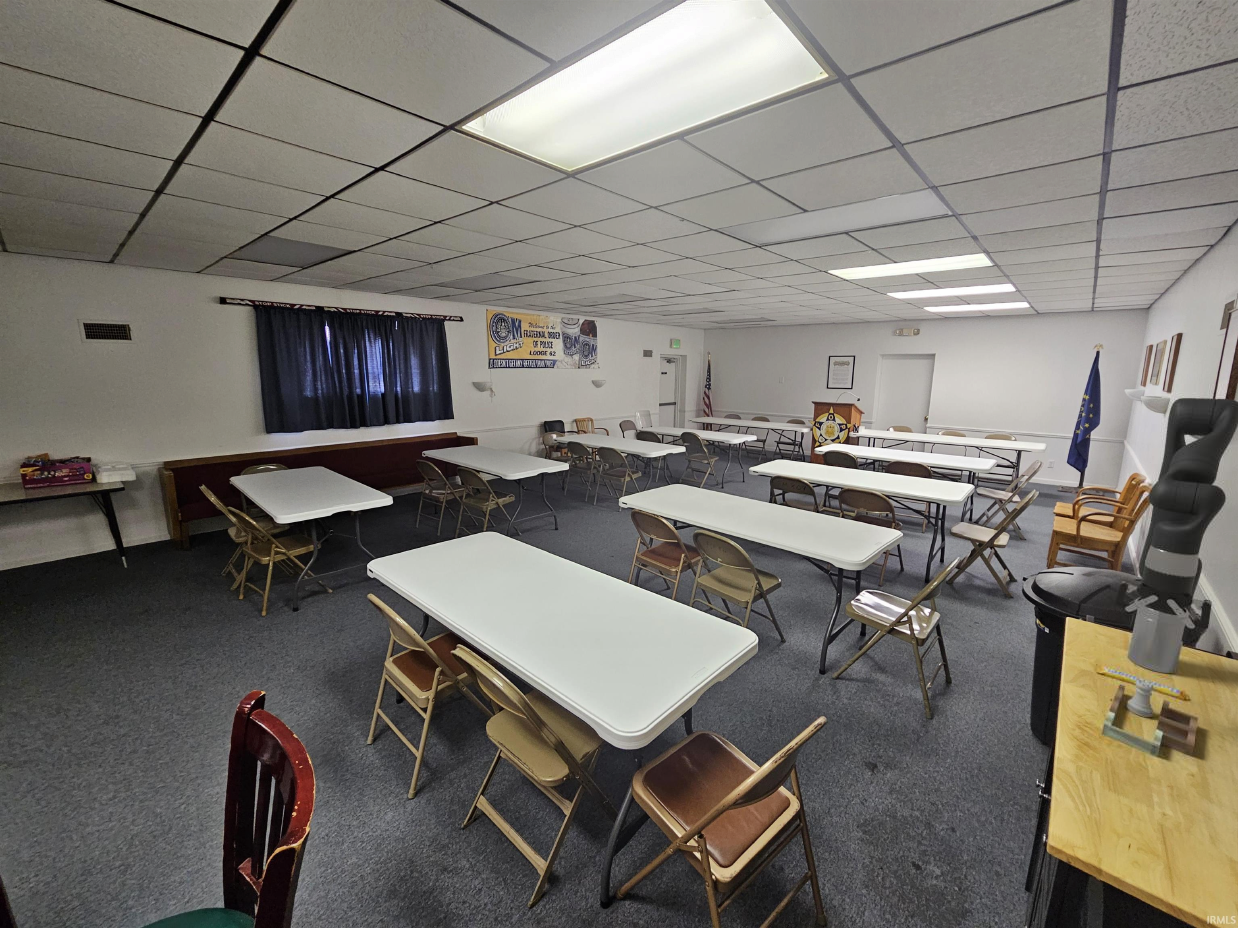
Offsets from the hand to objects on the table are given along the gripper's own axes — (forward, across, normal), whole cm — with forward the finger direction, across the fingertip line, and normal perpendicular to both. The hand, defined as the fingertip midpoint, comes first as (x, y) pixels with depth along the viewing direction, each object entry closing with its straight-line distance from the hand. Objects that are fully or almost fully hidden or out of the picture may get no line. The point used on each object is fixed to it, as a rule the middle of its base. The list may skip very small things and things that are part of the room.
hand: (1155, 632), depth 110 cm
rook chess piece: (+22, 0, -1) cm, 22 cm away
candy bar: (+23, +1, -17) cm, 29 cm away
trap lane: (+22, -2, +4) cm, 22 cm away
